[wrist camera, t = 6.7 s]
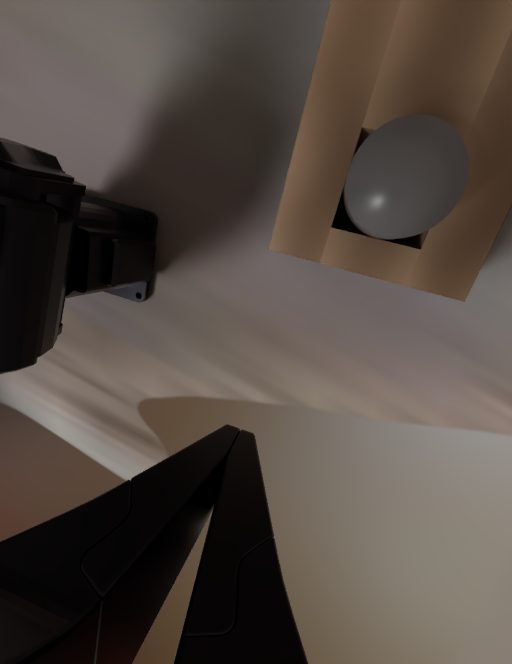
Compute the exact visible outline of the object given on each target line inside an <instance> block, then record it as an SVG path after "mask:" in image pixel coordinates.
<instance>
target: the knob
mask: <svg viewBox="0 0 512 664" xmlns="http://www.w3.org/2000/svg"><path fill="white" fill-rule="evenodd" d="M468 173H469V158H468V152H467V149H466V146H465V143H464V141H463V139H462V137H461V136H460V134H459V133H458V132H457V131H456V129H454V128H453V127H452V126H451V125H450V124H449V123H447V122H446V121H444V120H442V119H440V118H437V117H434V116H431V115H424V114H412V115H406V116H402V117H398V118H395V119H393V120H391V121H389V122H387V123H385V124H383V125H382V126H380V127H379V128H378V129H376V130H375V131H374V132H373V133H371V134H370V135H369V136H368V137H367V138H366V140H365V141H364V142H363V143H362V144H361V146H360V147H359V149H358V150H357V152H356V154H355V156H354V158H353V160H352V163H351V165H350V168H349V171H348V174H347V177H346V181H345V185H344V205H345V209H346V212H347V214H348V216H349V218H350V220H351V221H352V223H353V224H354V225H355V226H356V227H357V228H358V229H359V230H360V231H362V232H363V233H364V234H366V235H369V236H371V237H374V238H378V239H388V240H389V239H398V238H405V237H410V236H415V235H418V234H421V233H423V232H425V231H427V230H429V229H431V228H432V227H434V226H436V225H437V224H438V223H440V222H441V221H442V220H443V219H444V218H445V217H446V216H447V215H449V213H450V212H451V211H452V210H453V209H454V207H455V206H456V204H457V203H458V201H459V200H460V198H461V196H462V194H463V192H464V189H465V186H466V183H467V179H468Z"/></svg>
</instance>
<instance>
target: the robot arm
mask: <svg viewBox="0 0 512 664" xmlns="http://www.w3.org/2000/svg"><path fill="white" fill-rule="evenodd" d="M85 191H86V185H83V184H81V183H79V182H76V181H74V177H72V176H70V175H67V174H65V172H64V171H63V170H62V168H61V166H60V164H59V162H58V160H57V158H56V157H55V156H53V155H51V154H48V153H46V152H43V151H40V150H37V149H35V148H32V147H29V146H26V145H23V144H20V143H17V142H14V141H11V140H8V139H4V138H0V374H3V373H8V372H13V371H17V370H20V369H23V368H26V367H29V366H32V365H34V364H35V363H36V362H37V357H40V356H41V355H43V354H44V353H46V352H47V351H48V350H50V349H51V348H53V346H54V344H55V342H56V340H57V336H58V335H59V334H60V333H61V332H62V326H63V324H62V323H61V320H62V314H63V308H64V302H65V298H69V297H74V296H80V295H85V294H90V293H95V292H101V291H104V292H107V293H110V294H114V295H117V296H120V297H123V298H127V299H130V300H133V301H136V302H143V301H146V299H147V297H148V291H149V283H150V280H151V279H152V272H153V264H154V257H155V249H156V245H155V236H156V229H157V216H156V215H155V213H153V212H150V211H147V210H143V209H139V208H135V207H131V206H128V205H124V204H120V203H116V202H112V201H109V200H105V199H101V198H97V197H93V196H90V195H86V194H85ZM149 216H150V217H151V222H148V217H149ZM139 293H141V295H142V297H141V298H140V297H139ZM213 507H214V508H213ZM212 510H213V512H212ZM211 512H212V516H211V520H210V523H209V527H208V531H207V535H206V539H205V543H204V547H203V551H202V555H201V559H200V562H199V566H198V570H197V574H196V578H195V582H194V586H193V590H192V594H191V597H190V602H189V605H188V609H187V613H186V617H185V621H184V625H183V629H182V633H181V636H180V640H179V644H178V648H177V652H176V656H175V660H174V664H308V662H307V658H306V655H305V651H304V648H303V645H302V642H301V639H300V635H299V632H298V629H297V626H296V622H295V619H294V616H293V613H292V609H291V606H290V602H289V598H288V595H287V592H286V588H285V584H284V581H283V576H282V572H281V567H280V563H279V559H278V554H277V549H276V543H275V539H274V538H273V537H274V533H273V528H272V523H271V518H270V513H269V508H268V502H267V497H266V492H265V486H264V481H263V476H262V471H261V465H260V460H259V455H258V450H257V445H256V439H255V435H254V434H253V433H250V432H248V431H245V430H241V431H240V429H239V428H237V427H234V426H231V425H225V426H223V427H222V428H220V429H218V430H216V431H214V432H213V433H211V434H209V435H207V436H205V437H204V438H202V439H200V440H198V441H197V442H195V443H193V444H191V445H189V446H188V447H186V448H184V449H182V450H181V451H179V452H177V453H175V454H174V455H172V456H170V457H168V458H166V459H165V460H163V461H161V462H159V463H158V464H156V465H154V466H152V467H151V468H149V469H147V470H145V471H143V472H142V473H140V474H138V475H136V476H135V477H133V478H132V479H131V480H127V481H126V482H124V483H122V484H120V485H119V486H117V487H115V488H113V489H111V490H109V491H108V492H106V493H104V494H102V495H100V496H98V497H96V498H94V499H93V500H90V501H88V502H86V503H84V504H82V505H80V506H78V507H76V508H74V509H72V510H69V511H68V512H65V513H63V514H61V515H59V516H56V517H54V518H52V519H50V520H47V521H45V522H43V523H41V524H39V525H37V526H34V527H32V528H30V529H28V530H25V531H23V532H21V533H19V534H16V535H14V536H12V537H10V538H8V539H6V540H3V541H1V542H0V664H132V663H133V661H134V659H135V657H136V655H137V653H138V651H139V650H140V648H141V646H142V644H143V642H144V640H145V638H146V636H147V634H148V632H149V630H150V629H151V626H152V625H153V623H154V621H155V619H156V617H157V615H158V613H159V611H160V610H161V608H162V606H163V604H164V602H165V600H166V598H167V596H168V594H169V592H170V590H171V589H172V587H173V585H174V583H175V581H176V579H177V577H178V575H179V573H180V571H181V570H182V568H183V566H184V564H185V562H186V560H187V558H188V556H189V554H190V552H191V550H192V549H193V547H194V545H195V543H196V541H197V539H198V537H199V535H200V533H201V531H202V529H203V528H204V526H205V523H206V522H207V520H208V518H209V516H210V514H211Z"/></svg>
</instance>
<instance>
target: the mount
mask: <svg viewBox="0 0 512 664" xmlns="http://www.w3.org/2000/svg"><path fill="white" fill-rule="evenodd" d="M412 114H424V115H431V116H434V117H437V118H440V119H442V120H444V121H446V122H447V123H449V124H450V125H451V126H452V127H453V128H454V129H456V131H457V132H458V133H459V134H460V136H461V137H462V139H463V141H464V143H465V146H466V149H467V152H468V158H469V173H468V179H467V183H466V186H465V189H464V192H463V194H462V196H461V198H460V200H459V201H458V203H457V204H456V206H455V207H454V209H453V210H452V211H451V212H450V213H449V215H447V216H446V217H445V218H444V219H443V220H442V221H441V222H440V223H438V224H437V225H436V226H434V227H432V228H431V229H429V230H427V231H425V232H423V233H421V234H418V235H415V236H410V237H405V239H404V242H403V244H402V245H400V244H396V243H392V242H388V241H384V240H380V239H376V238H372V237H368V236H364V235H360V234H356V233H352V232H347V231H343V230H339V229H335V228H331V226H332V222H333V219H334V216H335V213H336V210H337V206H338V203H339V200H340V197H341V193H342V190H343V187H344V184H345V180H346V177H347V174H348V171H349V168H350V164H351V161H352V158H353V155H354V154H356V152H357V150H358V149H359V147H360V146H361V144H362V143H363V142H364V141H365V140H366V138H367V137H368V136H369V135H370V134H371V133H373V132H374V131H375V130H376V129H378V128H379V127H380V126H382V125H383V124H385V123H387V122H389V121H391V120H393V119H395V118H398V117H402V116H406V115H412ZM511 205H512V0H331V2H330V6H329V10H328V14H327V18H326V22H325V26H324V30H323V34H322V38H321V42H320V46H319V50H318V54H317V58H316V62H315V66H314V70H313V74H312V78H311V82H310V86H309V90H308V94H307V98H306V102H305V106H304V110H303V114H302V118H301V122H300V126H299V130H298V134H297V138H296V142H295V146H294V150H293V154H292V158H291V162H290V166H289V170H288V174H287V178H286V181H285V185H284V189H283V193H282V197H281V201H280V205H279V209H278V213H277V217H276V221H275V225H274V229H273V233H272V237H271V241H270V245H269V250H272V251H276V252H280V253H284V254H287V255H291V256H295V257H299V258H302V259H306V260H310V261H314V262H317V263H321V264H325V265H329V266H332V267H336V268H340V269H344V270H347V271H351V272H355V273H359V274H362V275H366V276H370V277H374V278H377V279H381V280H385V281H389V282H392V283H396V284H400V285H404V286H407V287H411V288H415V289H419V290H422V291H426V292H430V293H434V294H437V295H441V296H445V297H449V298H452V299H456V300H460V301H464V302H465V300H466V298H467V296H468V294H469V292H470V290H471V288H472V285H473V283H474V281H475V279H476V277H477V275H478V273H479V271H480V269H481V267H482V265H483V263H484V261H485V259H486V257H487V255H488V253H489V250H490V248H491V246H492V244H493V242H494V240H495V238H496V236H497V234H498V232H499V230H500V228H501V226H502V224H503V222H504V220H505V218H506V215H507V213H508V211H509V209H510V207H511Z"/></svg>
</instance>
